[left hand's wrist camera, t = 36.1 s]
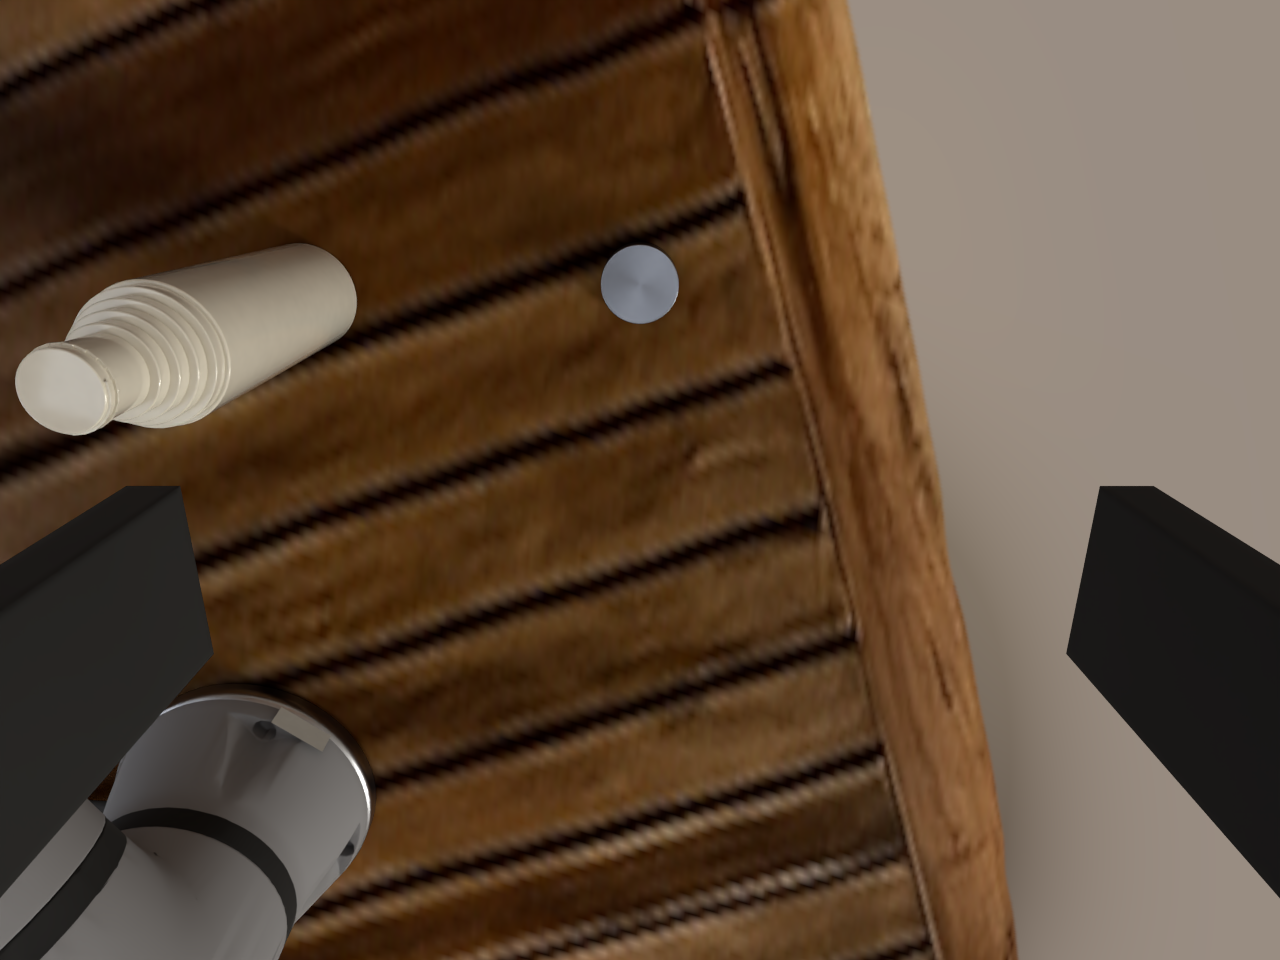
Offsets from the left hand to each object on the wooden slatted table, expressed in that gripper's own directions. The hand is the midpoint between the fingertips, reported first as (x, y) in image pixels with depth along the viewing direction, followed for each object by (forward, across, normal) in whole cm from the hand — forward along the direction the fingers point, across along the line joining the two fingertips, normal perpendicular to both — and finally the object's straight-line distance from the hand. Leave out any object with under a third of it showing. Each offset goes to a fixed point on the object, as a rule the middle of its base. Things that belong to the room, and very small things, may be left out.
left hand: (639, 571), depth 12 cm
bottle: (+33, +17, +1) cm, 37 cm away
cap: (+31, 0, 0) cm, 31 cm away
